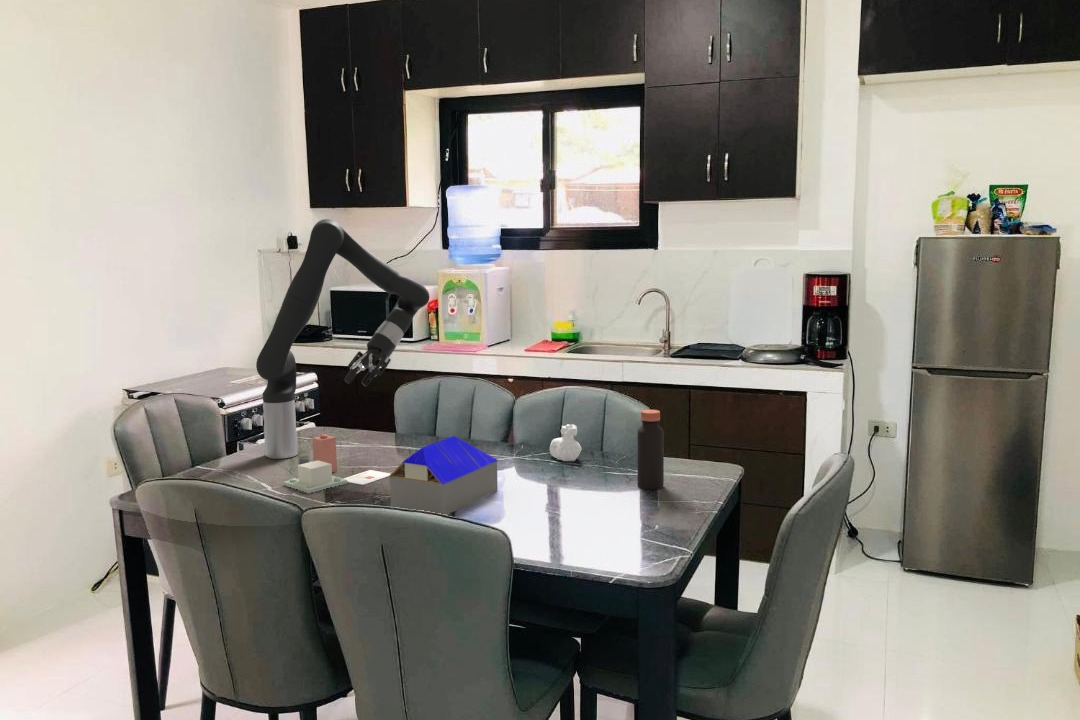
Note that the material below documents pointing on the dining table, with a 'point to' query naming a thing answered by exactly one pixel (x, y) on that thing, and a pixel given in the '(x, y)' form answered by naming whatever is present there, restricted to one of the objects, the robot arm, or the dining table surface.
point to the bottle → (650, 451)
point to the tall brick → (325, 450)
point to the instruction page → (366, 477)
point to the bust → (566, 444)
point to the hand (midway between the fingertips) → (355, 383)
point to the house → (443, 477)
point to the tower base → (312, 487)
